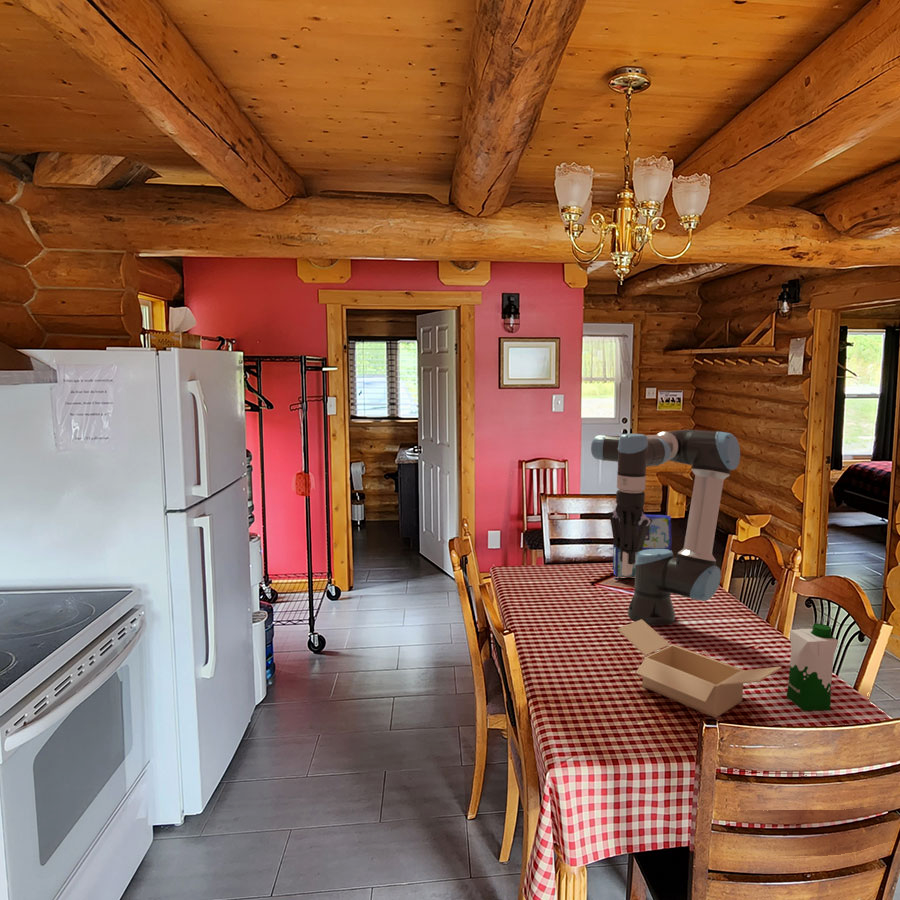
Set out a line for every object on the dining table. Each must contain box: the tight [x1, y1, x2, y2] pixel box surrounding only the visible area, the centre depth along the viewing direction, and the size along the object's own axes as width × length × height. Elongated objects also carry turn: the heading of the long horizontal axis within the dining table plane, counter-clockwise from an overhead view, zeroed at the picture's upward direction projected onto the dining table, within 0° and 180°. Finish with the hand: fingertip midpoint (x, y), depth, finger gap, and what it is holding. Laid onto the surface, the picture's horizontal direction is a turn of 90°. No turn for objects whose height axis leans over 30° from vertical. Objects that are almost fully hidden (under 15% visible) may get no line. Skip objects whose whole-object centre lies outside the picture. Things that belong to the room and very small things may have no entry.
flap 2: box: [720, 666, 783, 685], centre depth 155 cm, size 1×11×10 cm
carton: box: [635, 644, 744, 719], centre depth 167 cm, size 20×22×8 cm
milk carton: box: [786, 623, 839, 712], centre depth 162 cm, size 9×9×20 cm
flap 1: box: [616, 619, 670, 657], centre depth 177 cm, size 1×11×10 cm
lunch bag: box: [612, 513, 673, 578], centre depth 263 cm, size 22×17×26 cm
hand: (626, 574), depth 180 cm, fingers closed
